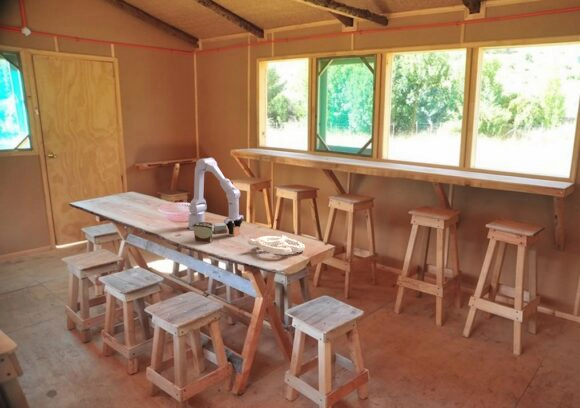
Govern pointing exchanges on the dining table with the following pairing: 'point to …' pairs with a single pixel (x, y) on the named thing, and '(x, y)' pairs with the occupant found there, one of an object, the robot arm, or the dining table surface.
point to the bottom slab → (220, 231)
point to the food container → (203, 231)
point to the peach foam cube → (235, 231)
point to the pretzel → (278, 244)
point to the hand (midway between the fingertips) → (233, 232)
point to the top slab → (220, 226)
